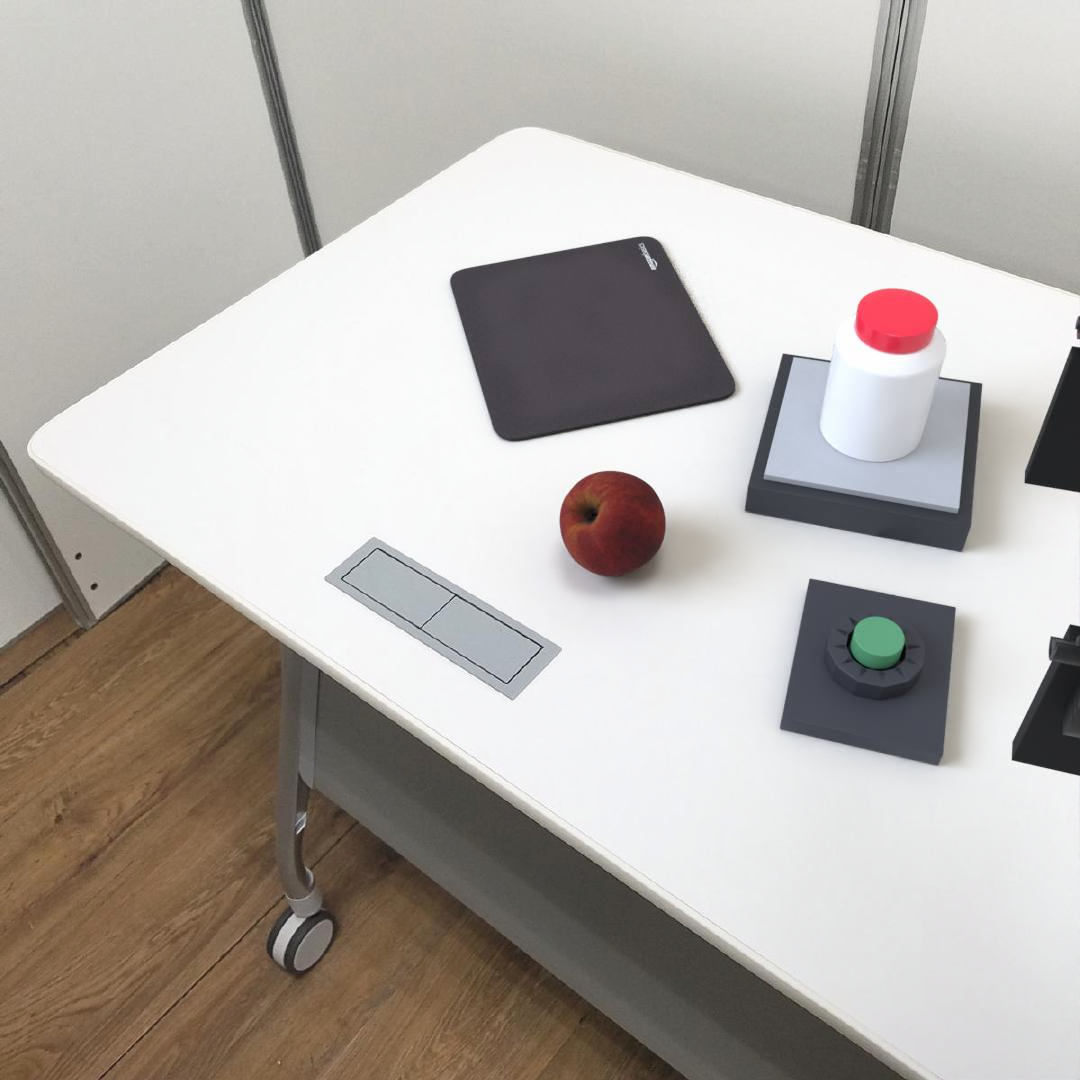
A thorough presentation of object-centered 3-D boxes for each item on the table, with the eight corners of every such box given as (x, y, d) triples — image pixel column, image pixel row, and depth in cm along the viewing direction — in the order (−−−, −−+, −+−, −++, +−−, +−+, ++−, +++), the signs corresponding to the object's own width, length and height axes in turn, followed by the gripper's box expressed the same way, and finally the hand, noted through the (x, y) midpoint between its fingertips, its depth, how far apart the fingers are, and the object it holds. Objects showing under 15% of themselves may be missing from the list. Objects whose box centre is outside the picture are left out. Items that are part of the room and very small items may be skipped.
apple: (547, 536, 84) (541, 462, 78) (641, 508, 85) (643, 433, 79) (581, 608, 79) (578, 535, 73) (680, 577, 80) (685, 503, 74)
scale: (961, 552, 80) (973, 521, 78) (744, 511, 84) (748, 480, 82) (974, 409, 90) (984, 377, 88) (779, 378, 94) (783, 347, 91)
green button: (897, 674, 71) (902, 660, 69) (847, 663, 71) (851, 650, 70) (902, 635, 73) (907, 621, 71) (853, 625, 73) (857, 611, 72)
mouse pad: (741, 395, 93) (742, 393, 92) (498, 444, 90) (497, 442, 90) (655, 234, 109) (655, 233, 109) (446, 273, 106) (446, 271, 106)
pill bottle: (900, 476, 81) (932, 360, 73) (802, 440, 84) (823, 324, 76) (937, 414, 85) (971, 298, 77) (843, 382, 88) (866, 266, 80)
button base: (938, 766, 69) (949, 741, 67) (779, 729, 71) (784, 704, 69) (951, 619, 76) (961, 592, 74) (807, 589, 79) (812, 563, 77)
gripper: (1132, -150, 34) (972, 382, 50) (1178, 329, 18) (923, 885, 34) (1410, -141, 32) (1152, 409, 48) (1724, 401, 16) (1188, 954, 32)
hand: (1056, 608), depth 41 cm, fingers open, 13 cm apart
